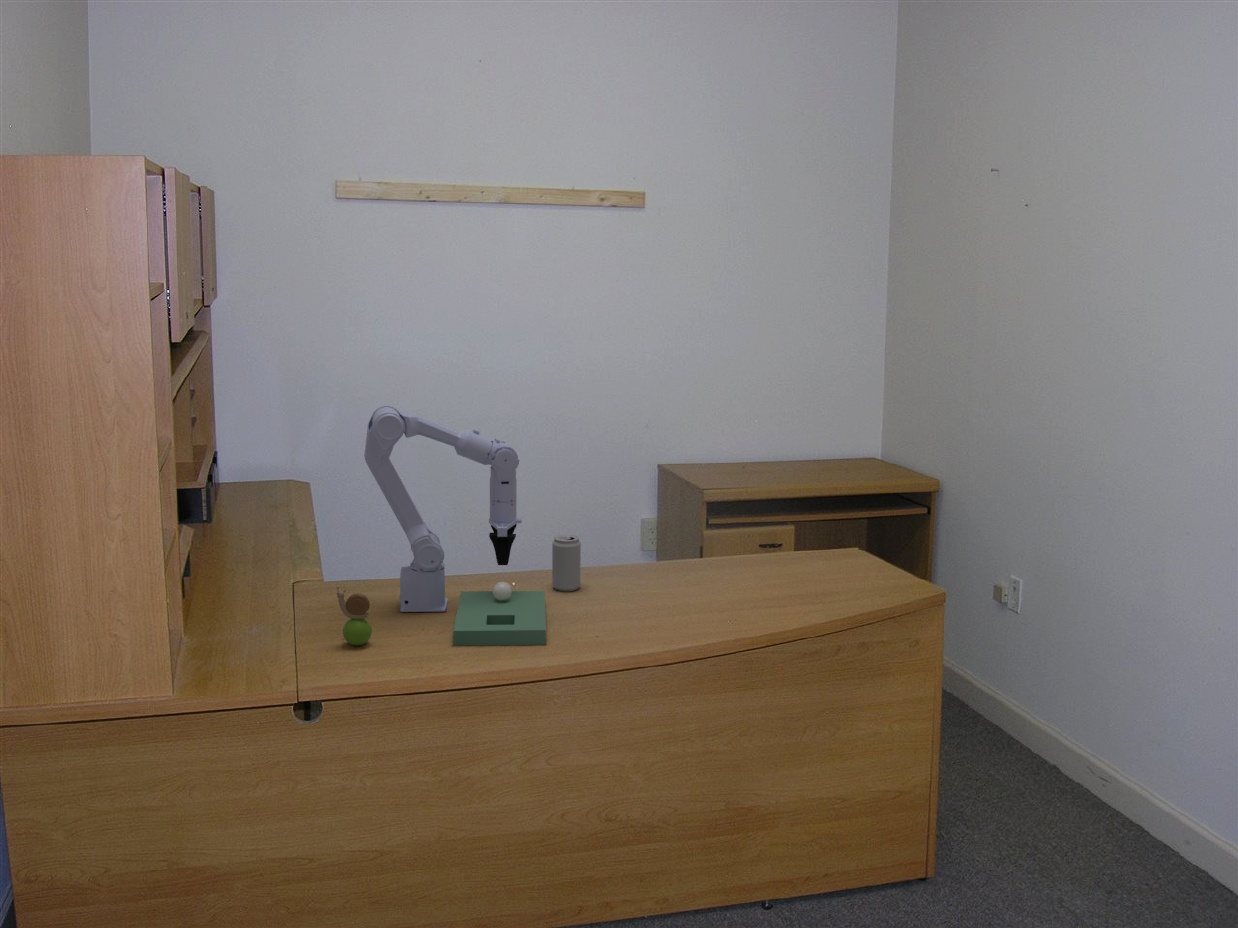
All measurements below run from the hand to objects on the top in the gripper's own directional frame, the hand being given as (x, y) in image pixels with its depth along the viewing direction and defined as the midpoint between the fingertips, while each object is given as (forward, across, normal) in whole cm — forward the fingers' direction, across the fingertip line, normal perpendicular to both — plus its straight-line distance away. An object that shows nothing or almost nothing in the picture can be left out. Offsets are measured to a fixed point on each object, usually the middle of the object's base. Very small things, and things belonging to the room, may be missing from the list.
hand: (503, 560), depth 238 cm
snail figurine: (+10, -25, +28) cm, 39 cm away
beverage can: (+10, +9, -14) cm, 19 cm away
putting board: (+9, -14, 0) cm, 17 cm away
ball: (+4, -8, 0) cm, 9 cm away
